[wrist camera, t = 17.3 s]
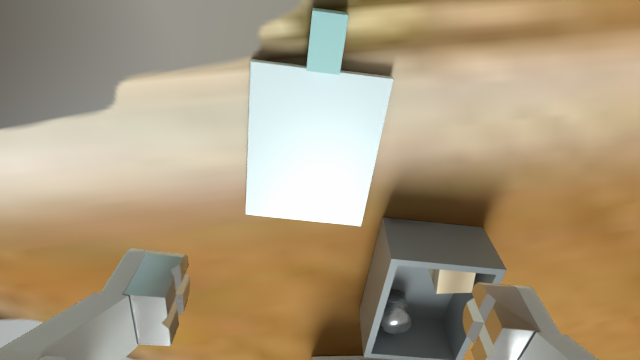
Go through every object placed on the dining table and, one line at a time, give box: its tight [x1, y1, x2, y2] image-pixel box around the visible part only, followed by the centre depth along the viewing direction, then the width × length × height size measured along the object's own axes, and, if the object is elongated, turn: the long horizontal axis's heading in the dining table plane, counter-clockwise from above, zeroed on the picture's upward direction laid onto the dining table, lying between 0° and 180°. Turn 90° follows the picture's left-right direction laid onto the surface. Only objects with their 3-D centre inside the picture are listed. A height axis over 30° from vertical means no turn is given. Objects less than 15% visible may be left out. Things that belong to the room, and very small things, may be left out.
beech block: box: [428, 268, 476, 294], centre depth 46 cm, size 4×4×4 cm
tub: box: [359, 217, 506, 360], centre depth 48 cm, size 12×16×7 cm
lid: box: [246, 8, 394, 226], centre depth 40 cm, size 13×22×2 cm, turn 173°
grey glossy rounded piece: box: [381, 289, 411, 334], centre depth 50 cm, size 4×4×4 cm
